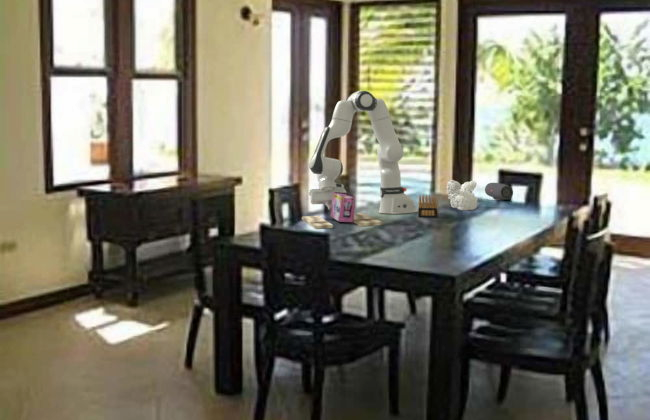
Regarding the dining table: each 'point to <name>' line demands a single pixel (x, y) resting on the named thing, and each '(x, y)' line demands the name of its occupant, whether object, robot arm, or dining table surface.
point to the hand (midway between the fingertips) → (330, 208)
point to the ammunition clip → (428, 207)
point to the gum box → (343, 207)
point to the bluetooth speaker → (498, 191)
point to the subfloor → (320, 223)
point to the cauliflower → (462, 195)
